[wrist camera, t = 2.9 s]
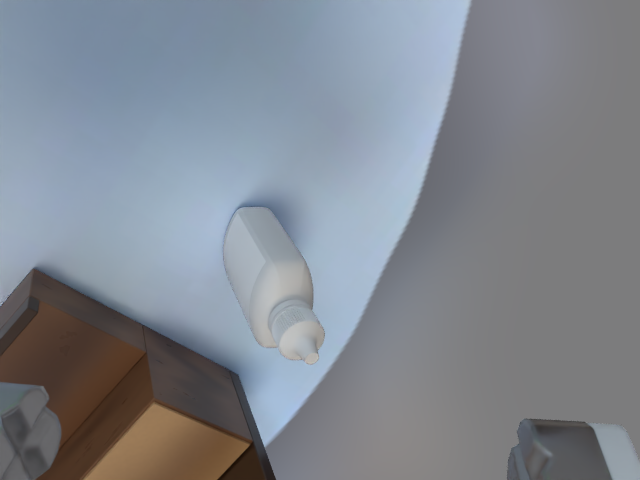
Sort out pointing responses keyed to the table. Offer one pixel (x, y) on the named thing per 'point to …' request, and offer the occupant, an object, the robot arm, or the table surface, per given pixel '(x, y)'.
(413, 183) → the table surface
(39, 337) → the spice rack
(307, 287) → the eye dropper bottle
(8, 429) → the robot arm
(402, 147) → the table surface
